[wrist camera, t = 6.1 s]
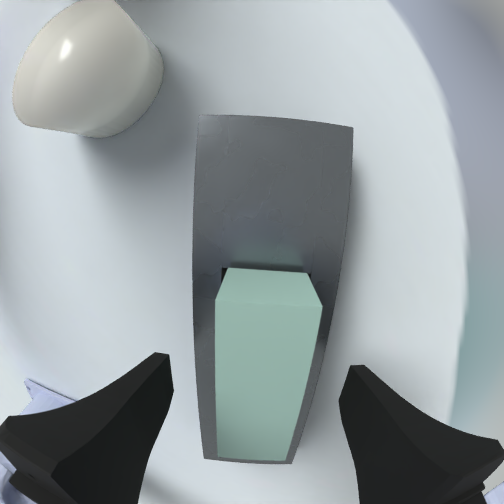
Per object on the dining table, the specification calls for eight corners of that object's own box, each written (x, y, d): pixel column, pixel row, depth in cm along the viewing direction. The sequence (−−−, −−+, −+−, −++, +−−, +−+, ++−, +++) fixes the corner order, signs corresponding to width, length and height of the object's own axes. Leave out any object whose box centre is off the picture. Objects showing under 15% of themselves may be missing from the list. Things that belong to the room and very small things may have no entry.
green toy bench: (280, 381, 15) (285, 460, 9) (230, 378, 15) (217, 456, 9) (297, 253, 13) (322, 306, 7) (235, 249, 13) (215, 299, 8)
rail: (289, 438, 17) (291, 464, 14) (209, 433, 17) (203, 458, 14) (337, 137, 12) (353, 127, 9) (210, 127, 12) (199, 115, 9)
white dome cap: (156, 133, 12) (105, 111, 7) (63, 144, 12) (3, 139, 7) (171, 29, 11) (139, -20, 6) (80, 51, 11) (32, 24, 6)
